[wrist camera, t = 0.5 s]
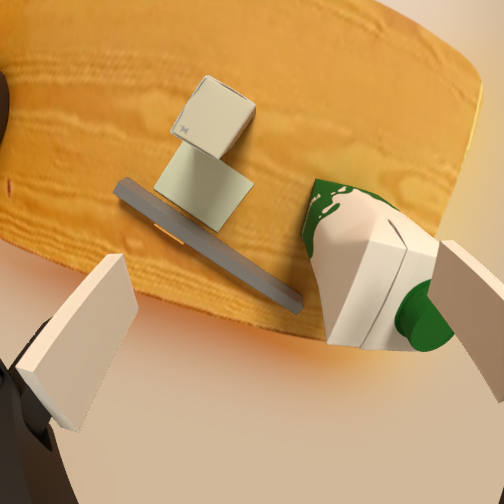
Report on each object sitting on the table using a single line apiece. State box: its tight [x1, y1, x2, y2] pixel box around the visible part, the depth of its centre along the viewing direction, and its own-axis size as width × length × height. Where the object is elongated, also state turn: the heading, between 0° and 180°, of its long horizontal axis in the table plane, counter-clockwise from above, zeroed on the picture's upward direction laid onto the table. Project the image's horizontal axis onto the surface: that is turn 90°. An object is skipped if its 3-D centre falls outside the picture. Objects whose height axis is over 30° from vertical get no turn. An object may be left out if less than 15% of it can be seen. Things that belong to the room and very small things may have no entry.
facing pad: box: [154, 141, 254, 232], centre depth 32 cm, size 9×7×1 cm
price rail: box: [113, 177, 304, 315], centre depth 34 cm, size 26×2×2 cm, turn 53°
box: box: [170, 75, 256, 160], centre depth 24 cm, size 5×4×11 cm
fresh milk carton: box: [300, 179, 455, 352], centre depth 24 cm, size 9×9×20 cm
